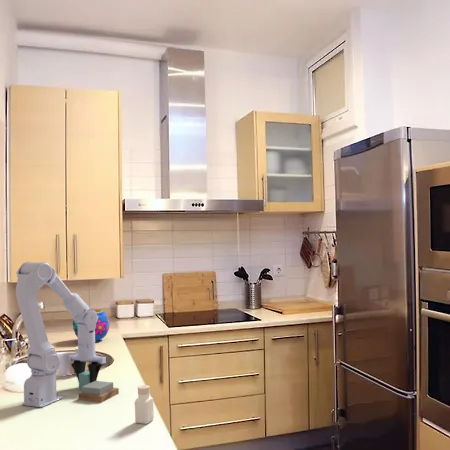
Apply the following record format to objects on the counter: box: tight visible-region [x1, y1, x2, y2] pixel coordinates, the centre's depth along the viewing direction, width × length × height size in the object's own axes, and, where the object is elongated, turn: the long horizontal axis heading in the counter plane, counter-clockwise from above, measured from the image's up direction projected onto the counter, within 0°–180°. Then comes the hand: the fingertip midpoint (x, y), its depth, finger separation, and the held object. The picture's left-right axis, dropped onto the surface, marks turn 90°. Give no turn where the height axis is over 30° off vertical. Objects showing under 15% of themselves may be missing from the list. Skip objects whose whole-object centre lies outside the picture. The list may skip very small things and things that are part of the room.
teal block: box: [78, 371, 90, 390], centre depth 167 cm, size 4×4×5 cm
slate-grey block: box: [81, 380, 114, 395], centre depth 157 cm, size 7×7×2 cm
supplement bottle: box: [73, 346, 90, 376], centre depth 185 cm, size 5×5×10 cm
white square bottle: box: [134, 384, 155, 425], centre depth 134 cm, size 4×4×10 cm
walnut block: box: [77, 387, 120, 403], centre depth 157 cm, size 9×9×2 cm
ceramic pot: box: [72, 309, 110, 342], centre depth 246 cm, size 18×18×15 cm
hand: (87, 383), depth 167 cm, fingers open, 4 cm apart
